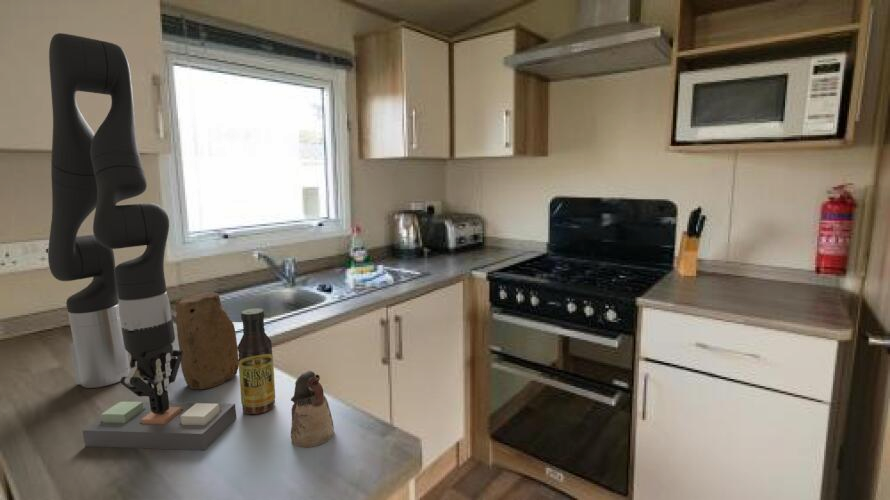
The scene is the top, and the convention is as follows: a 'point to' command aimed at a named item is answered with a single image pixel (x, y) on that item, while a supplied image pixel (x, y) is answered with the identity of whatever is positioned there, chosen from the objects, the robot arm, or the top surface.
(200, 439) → the button panel
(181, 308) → the brown sandstone rock
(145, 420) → the terracotta button
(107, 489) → the top surface
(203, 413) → the cream button
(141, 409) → the sage button
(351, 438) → the top surface
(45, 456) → the top surface
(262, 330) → the sauce bottle
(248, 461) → the top surface
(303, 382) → the figurine
